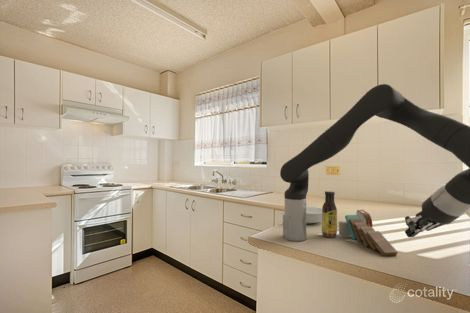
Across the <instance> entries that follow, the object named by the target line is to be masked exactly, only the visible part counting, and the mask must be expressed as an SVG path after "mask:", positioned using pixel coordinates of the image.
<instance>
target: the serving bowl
mask: <svg viewBox="0 0 470 313" xmlns="http://www.w3.org/2000/svg"><path fill="white" fill-rule="evenodd" d="M319 222H320V223H321V222H322V208H321V207H318V206H317V207H316V206H309V205H306V225H307V224H315V223H319Z"/></svg>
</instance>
